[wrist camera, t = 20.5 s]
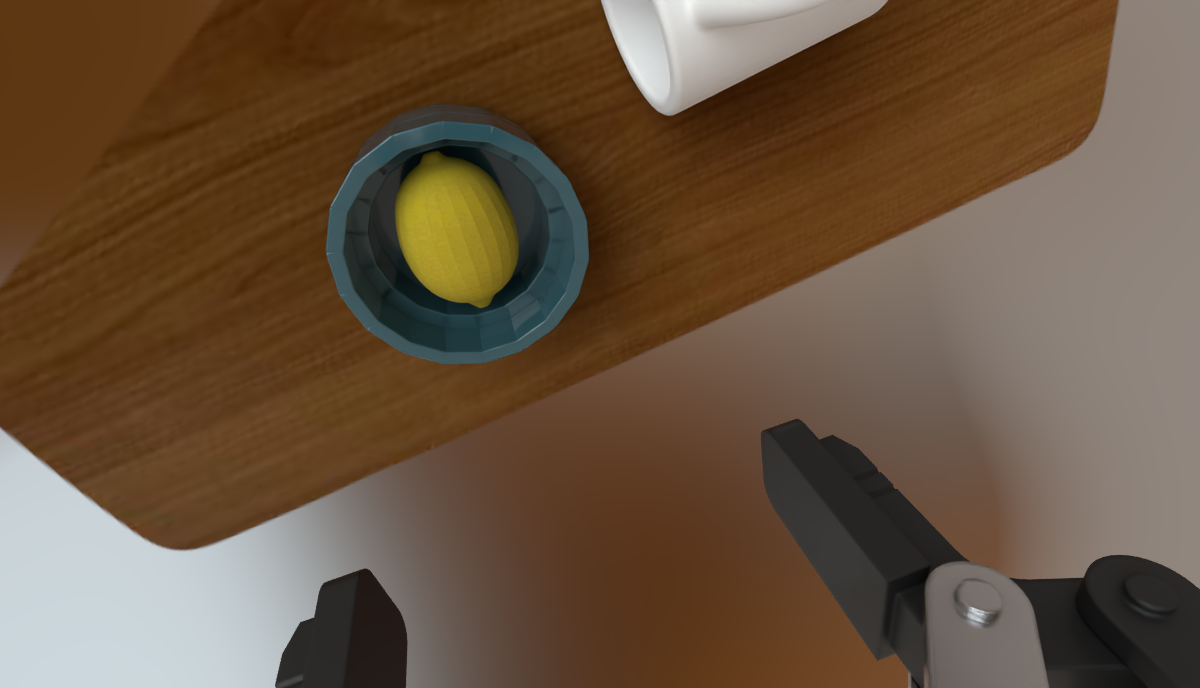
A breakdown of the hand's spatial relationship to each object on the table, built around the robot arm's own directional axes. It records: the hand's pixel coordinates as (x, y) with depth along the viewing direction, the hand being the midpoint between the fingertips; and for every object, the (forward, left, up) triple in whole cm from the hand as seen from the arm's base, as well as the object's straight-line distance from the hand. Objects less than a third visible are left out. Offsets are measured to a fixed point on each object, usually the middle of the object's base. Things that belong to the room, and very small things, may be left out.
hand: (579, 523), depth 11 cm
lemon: (+4, -2, -19) cm, 20 cm away
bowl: (0, -2, -23) cm, 23 cm away
